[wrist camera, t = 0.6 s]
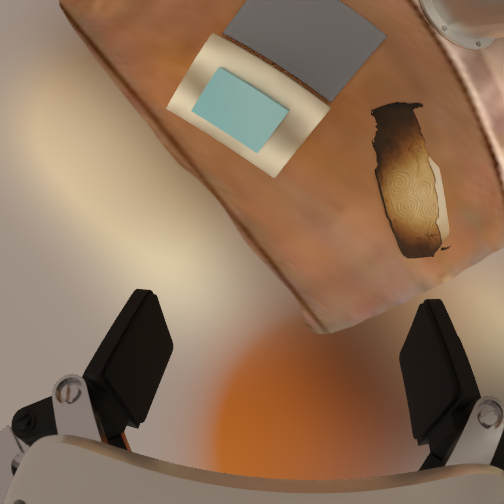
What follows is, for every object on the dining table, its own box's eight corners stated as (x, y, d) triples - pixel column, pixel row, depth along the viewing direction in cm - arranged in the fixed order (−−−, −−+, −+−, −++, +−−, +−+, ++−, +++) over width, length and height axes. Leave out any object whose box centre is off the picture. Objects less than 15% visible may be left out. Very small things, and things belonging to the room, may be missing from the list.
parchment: (450, 249, 40) (452, 252, 40) (397, 267, 44) (399, 270, 43) (419, 95, 30) (421, 95, 29) (353, 114, 33) (354, 115, 32)
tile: (223, 67, 29) (218, 67, 27) (289, 109, 30) (288, 111, 29) (196, 108, 32) (190, 111, 30) (259, 149, 34) (257, 153, 32)
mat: (277, -34, 23) (276, -35, 22) (386, 36, 26) (387, 36, 25) (223, 33, 29) (222, 33, 29) (330, 102, 32) (330, 102, 32)
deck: (221, 36, 30) (212, 32, 26) (328, 104, 33) (330, 108, 29) (178, 104, 36) (166, 108, 32) (277, 168, 39) (274, 178, 35)
